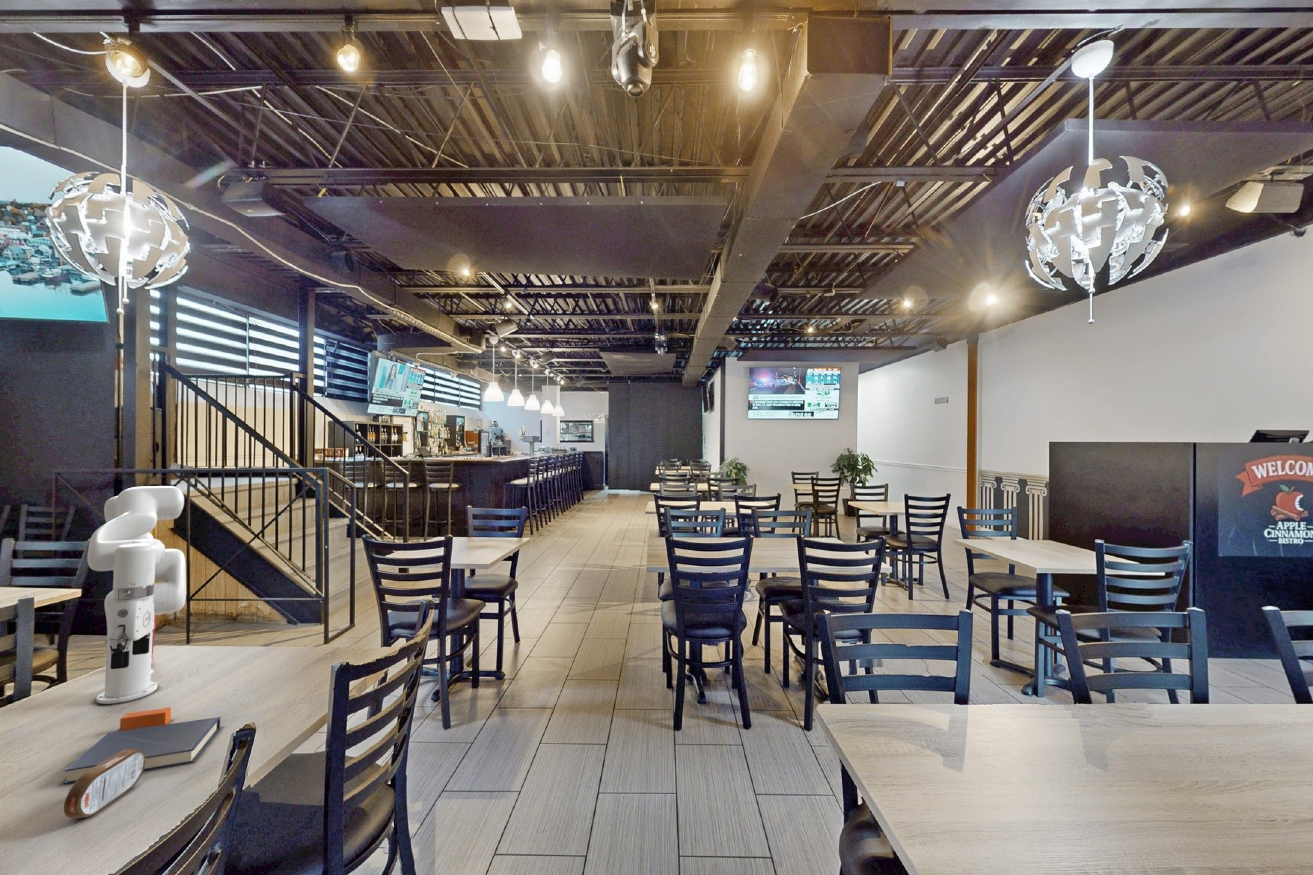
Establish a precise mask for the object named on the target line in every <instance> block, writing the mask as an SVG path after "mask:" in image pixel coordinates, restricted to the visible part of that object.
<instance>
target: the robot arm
mask: <svg viewBox="0 0 1313 875" xmlns="http://www.w3.org/2000/svg"><path fill="white" fill-rule="evenodd" d="M184 506H185V495H184V493H183V491H182V489H180V488H179V487H177V486H173V485H157V486H156V485H155V486H152V485H151V486H134V487H129V488H126V489H124V490H122V491H121V492H120V493H119V494H118V495H116V496H112V497H110V498H109V499H107V500H106V501H105V503H104V505H103V514H104V521H105V523H104V524H102V525H101V526H99V527H98V528H97V529H96V530H95V531H94V532H93V533H92V535H91V537H90V539H89V543H88V550H87V557H86V558H87V560H86V561H87V565H88V567H89V568H90V569H91V570H93V571H95V572H109V571H113V578H112V579H113V580H112V590H111V591H110V592H109V593H108V594H106V596H105V599H104V613H105V618H106V655H105V677H104V690H103V691H102V692H101V693H99V694H98V695H97V696H96V703H98V704H101V705H111V704H120V703H126V702H130V701H134V700H137V699H139V698H140V699H141V698H143V697H146V696H148V695H150V694H153V692H155V691H156V690H157V689H158V683H157V682H155V681H152V680H151V679H152V678H151V676H152V675H153V674H154V669H153V668H152V664H151V660H152V638H153V631H152V630H153V629H154V615H157V616H159V615H165V614H172V613H176V612H179V611H181V610H182V609H183V608H184V607H185V605H186V601H187V564H186V562H187V561H186V557H185V554H184V552H183V551H182V550H181V549H178V548H166V545H165V544H164V543H163V541H161V540H160V539H158V538H154V536H153V534H152V533H151V531H153V529H154V528H155V527H156V526H157V523H158V521H169V520H175V519H178V518H179V517H180V516H181V514H182V511H183V510H184ZM159 581H160V582H159Z"/></svg>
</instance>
